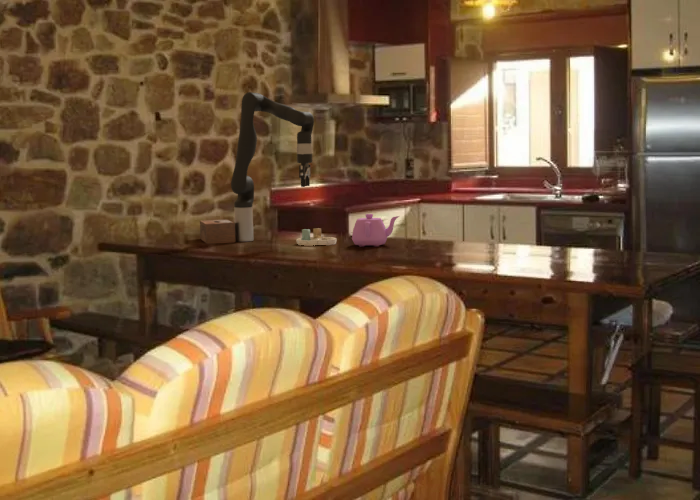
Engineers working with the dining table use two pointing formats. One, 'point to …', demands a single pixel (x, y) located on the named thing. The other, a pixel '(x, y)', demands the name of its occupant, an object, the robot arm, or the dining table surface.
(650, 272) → the dining table surface
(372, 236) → the teapot
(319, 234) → the bead oak
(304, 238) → the bead teal
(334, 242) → the tray
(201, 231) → the tissue box cover
